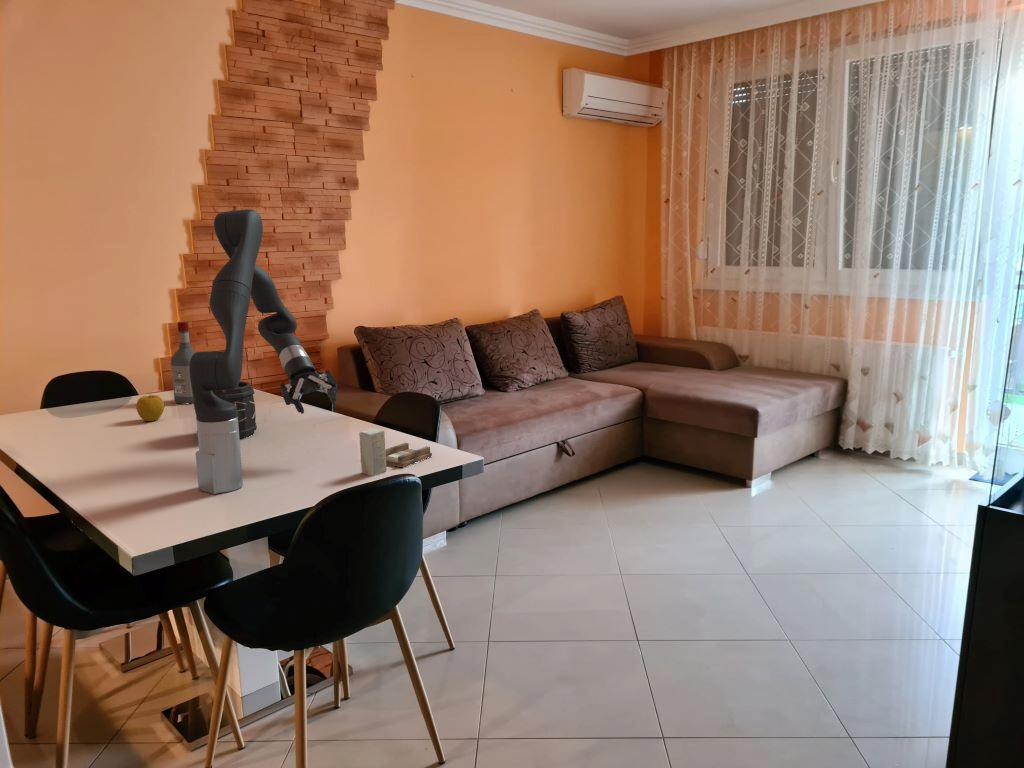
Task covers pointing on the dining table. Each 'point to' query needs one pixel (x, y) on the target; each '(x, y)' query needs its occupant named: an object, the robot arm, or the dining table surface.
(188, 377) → the liquor
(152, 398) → the apple
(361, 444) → the box
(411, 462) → the shallow brown tray
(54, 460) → the dining table surface
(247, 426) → the dark ribbed cylinder
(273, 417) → the dining table surface
